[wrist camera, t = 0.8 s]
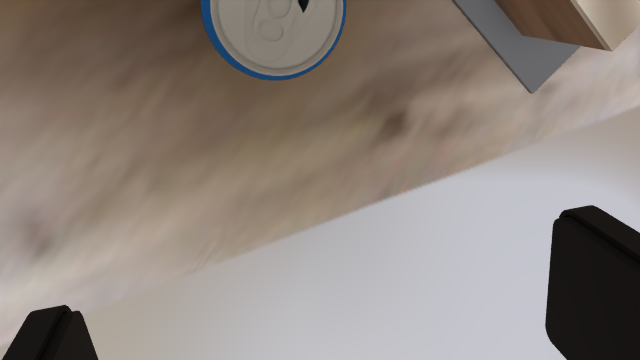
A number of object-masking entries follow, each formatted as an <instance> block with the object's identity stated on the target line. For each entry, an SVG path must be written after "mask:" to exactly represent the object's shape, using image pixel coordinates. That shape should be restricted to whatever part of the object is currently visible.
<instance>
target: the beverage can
mask: <svg viewBox="0 0 640 360" xmlns="http://www.w3.org/2000/svg"><path fill="white" fill-rule="evenodd" d="M201 13H202V18H203V23H204V26H205V29H206V32H207V34H208V36H209V38H210V40H211V42H212V44H213V45H214V47H215V49H216V50H217V51H218V52H219V54H220V55H221V56H222V57H223V58H224V59H225V60H226V61H227V62H228V63H229V64H231V65H232V66H233V67H235V68H236V69H238V70H239V71H241V72H243V73H245V74H247V75H250V76H252V77H256V78H259V79H264V80H286V79H291V78H295V77H298V76H301V75H303V74H305V73H307V72H309V71H311V70H312V69H314V68H315V67H317V66H318V65H319V64H321V63H322V62H323V61H324V60H325V59H326V58H327V57H328V55H329V54H330V53H331V51H332V50H333V49H334V47H335V45H336V44H337V42H338V40H339V37H340V35H341V33H342V29H343V26H344V22H345V16H346V0H201Z"/></svg>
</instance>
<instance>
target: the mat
mask: <svg viewBox="0 0 640 360" xmlns="http://www.w3.org/2000/svg"><path fill="white" fill-rule="evenodd" d="M452 1H453V2H454V3H455V4H456V5H457V7H458V8H459V9H460V10H461V11H462V13H463V14H464V15H465V16H466V17H467V19H468V20H469V21H470V22H471V23H472V25H473V26H474V27H475V28H476V29H477V30H478V32H479V33H480V34H481V35H482V36H483V38H484V39H485V40H486V41H487V42H488V44H489V45H490V46H491V47H492V48H493V50H494V51H495V52H496V53H497V54H498V56H499V57H500V58H501V59H502V60H503V62H504V63H505V64H506V65H507V66H508V67H509V69H510V70H511V71H512V72H513V73H514V75H515V76H516V77H517V78H518V79H519V81H520V82H521V83H522V84H523V85H524V87H525V88H526V89H527V90H528V91H529V93H532V94H533V93H534V92H535V91H536V90H537V89H538V88H539V87H540V86H541V85H542V84H543V83H544V82H545V81H546V80H547V79H548V78H549V77H550V76H551V75H552V74H553V73H554V72H555V71H556V70H557V69H558V68H559V67H560V66H561V65H562V64H563V63H564V62H565V61H566V60H567V59H568V58H569V57H570V56H571V55H572V54H573V53H574V52H575V51H576V50H577V49H578V48H579V47H580V46H579V45H573V44H567V43H562V42H556V41H550V40H545V39H539V38H533V37H528V36H522V34H521V33H520V32H519V31H518V29H517V28H516V27H515V26H514V24H513V23H512V22H511V20H510V19H509V18H508V17H507V15H506V14H505V13H504V12H503V10H502V9H501V8H500V7H499V5H498V4H497V3H496V2H495V0H452Z"/></svg>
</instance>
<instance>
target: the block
mask: <svg viewBox="0 0 640 360" xmlns="http://www.w3.org/2000/svg"><path fill="white" fill-rule="evenodd" d="M495 2H496V3H497V4H498V5H499V7H500V8H501V9H502V10H503V12H504V13H505V14H506V15H507V17H508V18H509V19H510V20H511V22H512V23H513V24H514V26H515V27H516V28H517V29H518V31H519V32H520V33H521V34H522V36H528V37H533V38H539V39H545V40H550V41H556V42H562V43H567V44H573V45H579V46H584V47H590V48H596V49H601V50H607V51H613V50H614V49H615V48H616V47H618V46H619V45H620V44H621V43H622V42H623V41H624V40H625V39H626V38H627V37H628V36H629V35H630V34H631V33H632V32H633V31H634V30H635V29H636V28H637V27H638V26H639V25H640V0H495Z"/></svg>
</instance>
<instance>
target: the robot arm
mask: <svg viewBox="0 0 640 360" xmlns="http://www.w3.org/2000/svg"><path fill="white" fill-rule="evenodd" d="M545 324H546V325H545V326H546V332H547V335H548V337H549V339H550V341H551V342H552V344H553V345H554V346H555V347H556V348H557V349H558V350H559V351H560V353H561V354H562V355H563V356H564V357H565V358H566V359H567V360H640V233H639V232H637V231H636V230H634V229H632V228H631V227H629V226H628V225H626V224H624V223H623V222H621V221H619V220H618V219H616V218H614V217H613V216H611V215H609V214H608V213H606V212H604V211H603V210H601V209H599V208H598V207H595V206H593V205H591V206H584V207H578V208H573V209H568V210H564V211H563V212H562V213H561V214H560V216H559V218H558V219H556V220H555V221H554V224H553V231H552V244H551V258H550V271H549V284H548V296H547V309H546V323H545ZM2 360H98V357H97V355H96V352H95V349H94V346H93V343H92V340H91V338H90V335H89V332H88V329H87V326H86V324H85V321H84V318H83V316H82V314H81V313H80V311H73V312H72V311H71V309H70V308H69V307H68V306H66V305H62V306H57V307H51V308H46V309H41V310H36V311H32V312H30V314H29V315H28V316H27V318H26V319H25V321H24V323H23V325H22V326H21V328H20V330H19V331H18V333H17V335H16V337H15V338H14V340H13V342H12V343H11V345H10V347H9V349H8V350H7V352H6V354H5V355H4V357H3V359H2Z"/></svg>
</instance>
